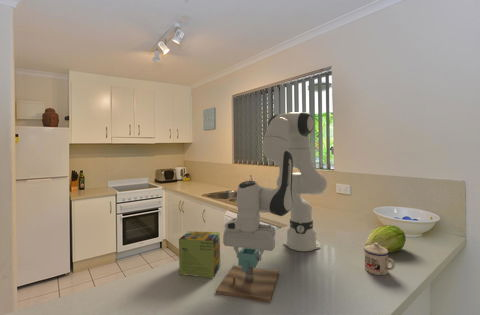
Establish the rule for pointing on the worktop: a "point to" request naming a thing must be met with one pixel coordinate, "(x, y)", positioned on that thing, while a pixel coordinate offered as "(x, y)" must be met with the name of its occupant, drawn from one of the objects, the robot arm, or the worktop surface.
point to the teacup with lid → (377, 259)
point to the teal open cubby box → (248, 258)
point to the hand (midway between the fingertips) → (249, 258)
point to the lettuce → (387, 238)
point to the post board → (249, 283)
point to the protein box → (199, 253)
